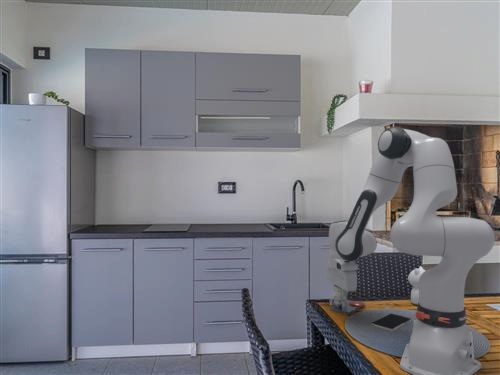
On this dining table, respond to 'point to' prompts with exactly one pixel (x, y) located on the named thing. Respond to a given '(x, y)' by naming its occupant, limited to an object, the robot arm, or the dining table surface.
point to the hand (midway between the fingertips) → (340, 297)
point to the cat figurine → (415, 284)
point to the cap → (337, 293)
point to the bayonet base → (345, 306)
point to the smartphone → (391, 322)
